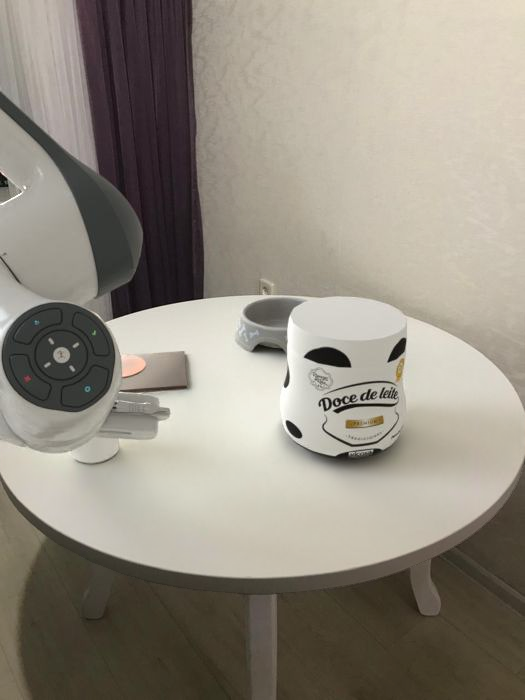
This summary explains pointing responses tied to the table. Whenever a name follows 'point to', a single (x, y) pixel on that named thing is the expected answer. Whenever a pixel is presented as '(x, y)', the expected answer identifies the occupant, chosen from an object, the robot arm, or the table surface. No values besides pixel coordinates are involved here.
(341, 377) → the milk container
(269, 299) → the dog bowl
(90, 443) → the can
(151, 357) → the placemat
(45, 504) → the table surface
